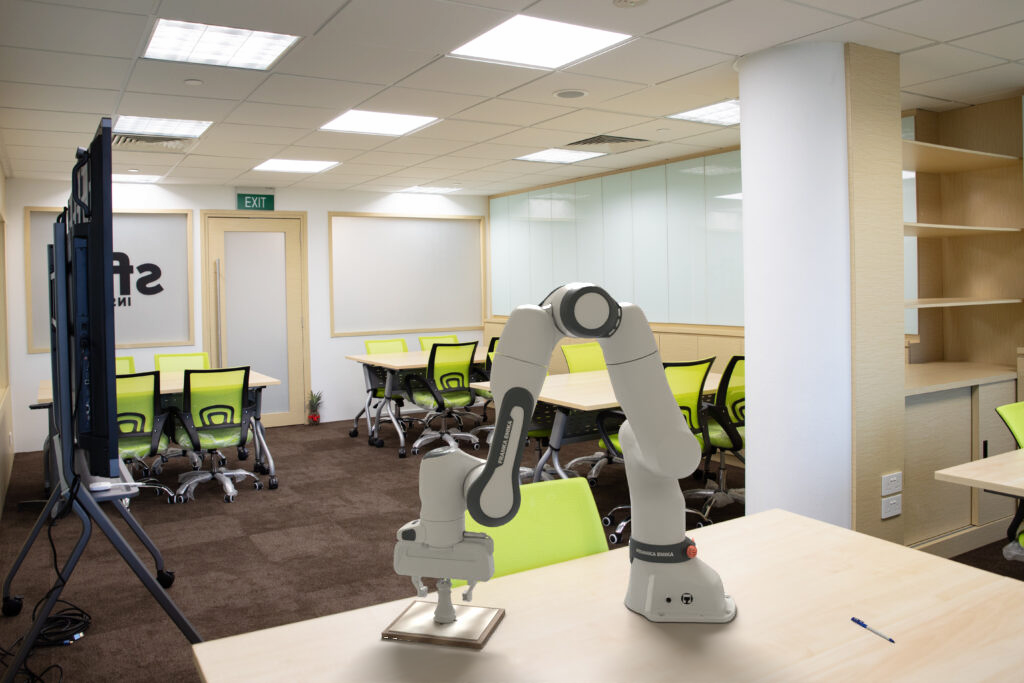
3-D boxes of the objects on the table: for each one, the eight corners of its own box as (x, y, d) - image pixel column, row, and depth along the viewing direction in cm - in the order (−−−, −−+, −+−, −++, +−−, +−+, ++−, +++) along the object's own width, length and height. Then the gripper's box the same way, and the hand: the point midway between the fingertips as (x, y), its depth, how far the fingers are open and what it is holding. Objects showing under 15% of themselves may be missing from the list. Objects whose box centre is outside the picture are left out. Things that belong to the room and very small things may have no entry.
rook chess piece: (434, 615, 152) (433, 576, 152) (456, 614, 153) (455, 575, 152) (433, 624, 148) (432, 584, 147) (456, 623, 148) (455, 583, 148)
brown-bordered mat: (505, 613, 155) (505, 607, 155) (481, 648, 140) (480, 642, 140) (414, 604, 161) (414, 599, 161) (381, 637, 145) (381, 631, 145)
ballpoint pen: (849, 621, 149) (849, 616, 149) (853, 620, 149) (853, 615, 149) (892, 643, 139) (892, 638, 139) (896, 643, 139) (896, 637, 139)
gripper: (498, 528, 150) (499, 597, 150) (402, 522, 155) (404, 588, 156) (488, 538, 143) (490, 609, 144) (389, 531, 149) (391, 600, 150)
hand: (444, 598), depth 150 cm, fingers open, 8 cm apart
